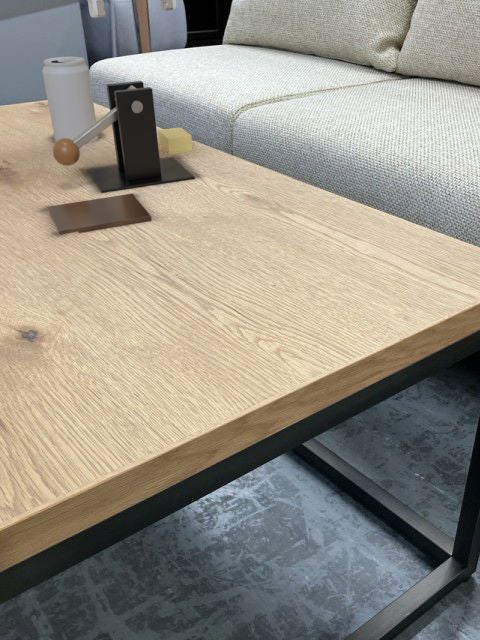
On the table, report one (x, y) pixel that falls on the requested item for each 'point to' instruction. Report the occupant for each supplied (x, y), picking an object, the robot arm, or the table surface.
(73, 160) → the arm
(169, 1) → the robot arm
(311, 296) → the table surface
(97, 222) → the board
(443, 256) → the table surface
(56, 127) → the beverage can
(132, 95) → the black lever stand
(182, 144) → the butter
